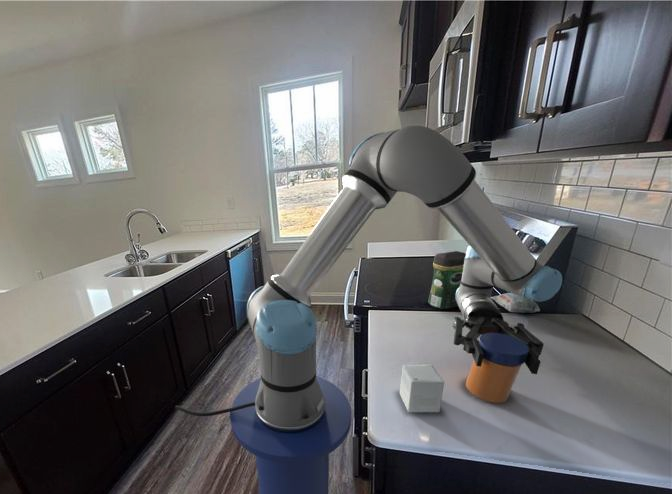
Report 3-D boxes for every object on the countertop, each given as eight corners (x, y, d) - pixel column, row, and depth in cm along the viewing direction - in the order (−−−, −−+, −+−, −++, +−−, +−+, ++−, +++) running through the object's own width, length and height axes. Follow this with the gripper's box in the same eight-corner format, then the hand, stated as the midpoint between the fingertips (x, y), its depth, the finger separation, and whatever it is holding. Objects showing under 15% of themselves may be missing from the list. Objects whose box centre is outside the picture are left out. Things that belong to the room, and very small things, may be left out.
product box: (440, 413, 62) (445, 382, 59) (407, 413, 62) (411, 382, 60) (428, 393, 67) (432, 363, 65) (398, 393, 68) (402, 363, 65)
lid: (534, 359, 61) (539, 348, 60) (507, 370, 58) (510, 359, 57) (493, 339, 67) (496, 329, 66) (467, 348, 65) (470, 338, 64)
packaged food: (508, 317, 98) (512, 302, 96) (489, 302, 108) (492, 289, 107) (539, 317, 96) (543, 302, 95) (516, 302, 107) (520, 289, 105)
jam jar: (489, 406, 62) (508, 360, 57) (457, 382, 69) (471, 339, 64) (516, 397, 65) (536, 352, 60) (482, 374, 71) (498, 332, 66)
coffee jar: (445, 299, 114) (453, 248, 107) (464, 306, 106) (473, 252, 100) (423, 303, 111) (429, 251, 104) (440, 311, 104) (448, 256, 97)
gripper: (528, 333, 76) (572, 391, 56) (432, 323, 83) (441, 371, 64) (536, 304, 73) (585, 354, 54) (436, 297, 81) (447, 338, 61)
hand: (507, 363), depth 59 cm, fingers closed on lid, 8 cm apart
